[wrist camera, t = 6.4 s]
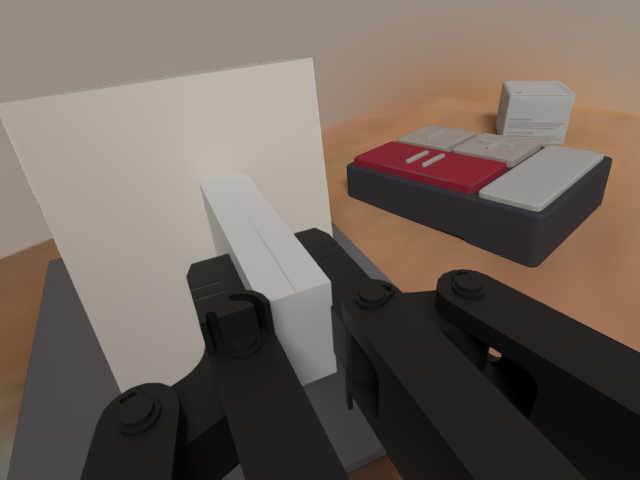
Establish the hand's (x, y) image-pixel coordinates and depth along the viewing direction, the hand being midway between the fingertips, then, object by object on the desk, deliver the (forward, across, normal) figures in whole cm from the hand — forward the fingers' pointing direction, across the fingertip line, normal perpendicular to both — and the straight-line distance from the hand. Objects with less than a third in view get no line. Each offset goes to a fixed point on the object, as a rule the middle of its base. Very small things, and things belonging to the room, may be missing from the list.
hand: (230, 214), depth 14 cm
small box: (+17, +33, -9) cm, 38 cm away
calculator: (+9, +19, -9) cm, 23 cm away
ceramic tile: (+1, -1, -8) cm, 8 cm away
